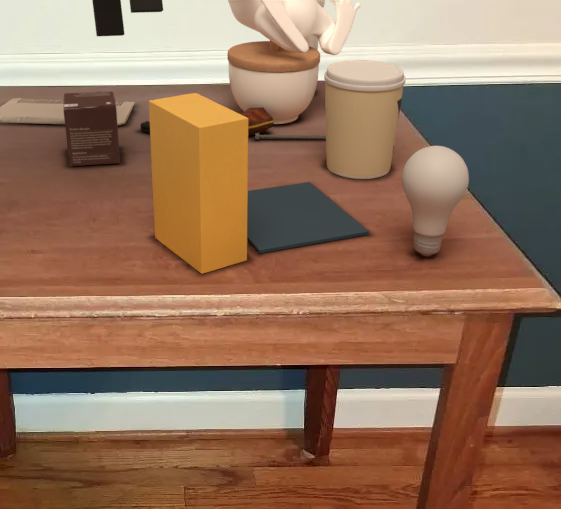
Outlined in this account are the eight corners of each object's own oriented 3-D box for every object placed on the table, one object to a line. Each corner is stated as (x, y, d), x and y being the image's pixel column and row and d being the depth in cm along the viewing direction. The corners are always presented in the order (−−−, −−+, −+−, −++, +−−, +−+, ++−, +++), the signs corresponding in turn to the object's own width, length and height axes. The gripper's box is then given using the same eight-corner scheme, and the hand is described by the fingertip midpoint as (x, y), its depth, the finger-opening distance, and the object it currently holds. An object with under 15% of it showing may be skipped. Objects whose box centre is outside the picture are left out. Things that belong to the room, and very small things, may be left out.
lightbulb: (465, 250, 83) (480, 144, 78) (446, 275, 78) (461, 164, 73) (406, 236, 85) (418, 132, 80) (385, 260, 81) (395, 151, 76)
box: (118, 147, 106) (114, 90, 103) (120, 165, 101) (116, 105, 98) (68, 150, 105) (63, 92, 102) (68, 167, 100) (62, 107, 96)
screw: (255, 131, 110) (254, 138, 111) (255, 133, 109) (255, 141, 110) (330, 133, 111) (330, 140, 112) (332, 135, 110) (331, 142, 111)
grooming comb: (10, 96, 122) (11, 101, 122) (-14, 118, 113) (-13, 123, 113) (137, 99, 121) (137, 105, 122) (122, 122, 112) (122, 127, 113)
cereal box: (201, 274, 77) (198, 127, 71) (154, 237, 84) (148, 100, 77) (247, 260, 80) (248, 118, 73) (198, 226, 86) (195, 92, 80)
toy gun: (277, 133, 112) (235, 156, 105) (186, 120, 120) (141, 140, 112) (276, 107, 111) (233, 129, 103) (184, 96, 118) (138, 115, 110)
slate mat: (259, 253, 81) (259, 250, 81) (210, 199, 92) (210, 196, 92) (368, 234, 86) (369, 231, 85) (309, 185, 97) (309, 181, 97)
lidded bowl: (269, 97, 126) (270, 23, 121) (335, 116, 119) (340, 38, 114) (208, 115, 118) (207, 36, 113) (276, 137, 111) (278, 53, 106)
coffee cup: (412, 175, 100) (422, 75, 95) (344, 186, 97) (350, 83, 91) (370, 150, 108) (378, 56, 102) (306, 160, 104) (310, 63, 99)
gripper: (182, -276, 67) (209, -2, 70) (109, -162, 90) (132, 42, 92) (87, -288, 64) (120, 0, 67) (37, -166, 87) (63, 44, 89)
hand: (127, 25), depth 80 cm, fingers open, 13 cm apart
